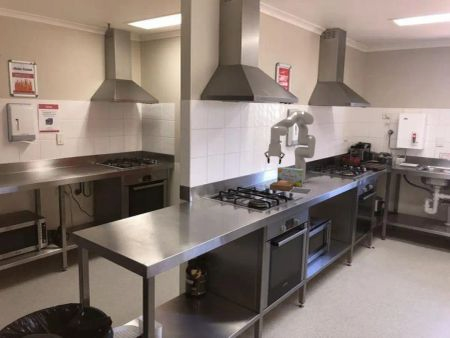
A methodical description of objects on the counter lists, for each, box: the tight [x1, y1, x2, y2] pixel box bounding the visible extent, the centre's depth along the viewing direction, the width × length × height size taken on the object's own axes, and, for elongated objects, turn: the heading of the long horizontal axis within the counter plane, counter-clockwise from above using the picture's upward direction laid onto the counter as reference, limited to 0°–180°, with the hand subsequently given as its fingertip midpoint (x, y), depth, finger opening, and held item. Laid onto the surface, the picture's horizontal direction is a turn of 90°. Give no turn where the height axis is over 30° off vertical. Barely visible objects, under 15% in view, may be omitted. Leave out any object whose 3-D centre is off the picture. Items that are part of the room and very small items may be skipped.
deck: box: [269, 181, 294, 193], centre depth 296 cm, size 14×16×4 cm
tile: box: [278, 180, 288, 185], centre depth 296 cm, size 9×6×2 cm, turn 158°
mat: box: [290, 187, 311, 194], centre depth 291 cm, size 16×13×1 cm
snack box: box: [276, 166, 304, 189], centre depth 311 cm, size 21×6×15 cm, turn 62°
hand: (274, 163), depth 296 cm, fingers open, 8 cm apart
